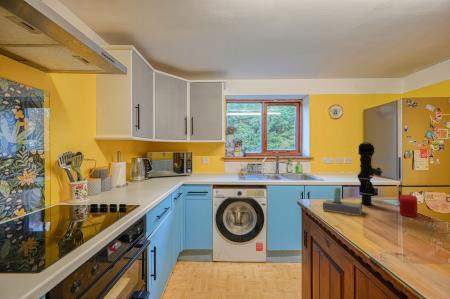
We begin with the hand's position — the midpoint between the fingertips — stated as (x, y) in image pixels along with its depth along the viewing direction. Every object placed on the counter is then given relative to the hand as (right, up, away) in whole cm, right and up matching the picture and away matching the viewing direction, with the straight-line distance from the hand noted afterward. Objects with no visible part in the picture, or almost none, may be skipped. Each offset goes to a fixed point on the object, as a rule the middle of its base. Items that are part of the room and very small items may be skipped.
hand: (366, 188), depth 146 cm
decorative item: (+18, -13, -9) cm, 24 cm away
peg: (-18, -13, 0) cm, 22 cm away
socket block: (-16, -13, -2) cm, 21 cm away
